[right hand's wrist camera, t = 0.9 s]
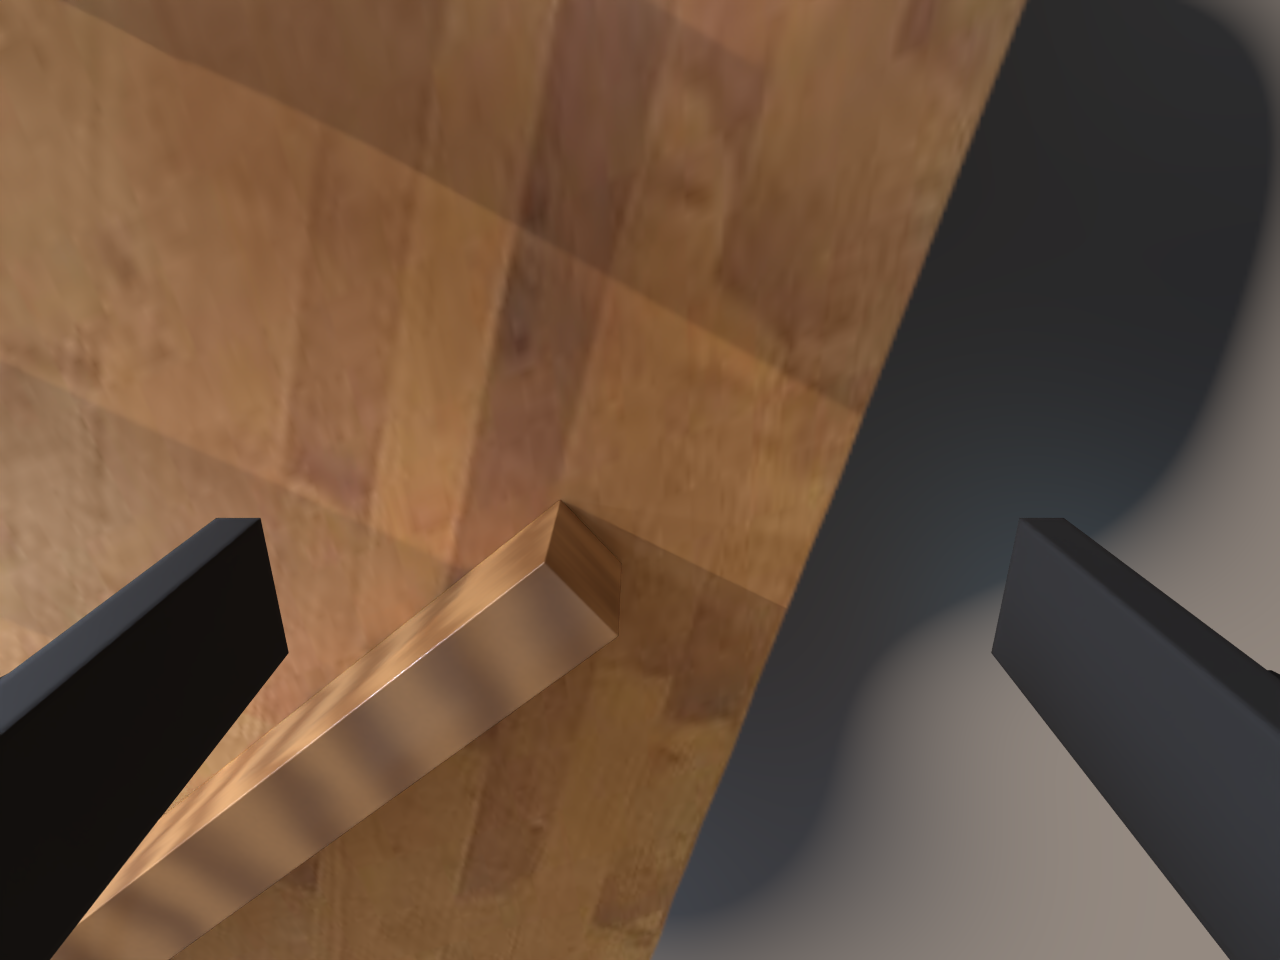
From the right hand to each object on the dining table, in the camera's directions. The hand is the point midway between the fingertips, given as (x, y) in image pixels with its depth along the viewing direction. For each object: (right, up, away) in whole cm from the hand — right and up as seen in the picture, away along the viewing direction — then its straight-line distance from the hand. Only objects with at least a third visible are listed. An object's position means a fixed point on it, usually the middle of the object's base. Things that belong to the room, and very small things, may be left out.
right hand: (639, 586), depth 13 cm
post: (-34, -25, +39) cm, 57 cm away
